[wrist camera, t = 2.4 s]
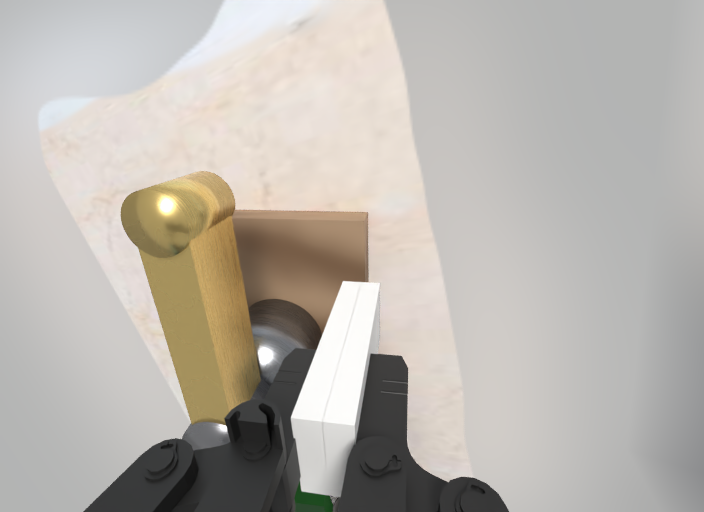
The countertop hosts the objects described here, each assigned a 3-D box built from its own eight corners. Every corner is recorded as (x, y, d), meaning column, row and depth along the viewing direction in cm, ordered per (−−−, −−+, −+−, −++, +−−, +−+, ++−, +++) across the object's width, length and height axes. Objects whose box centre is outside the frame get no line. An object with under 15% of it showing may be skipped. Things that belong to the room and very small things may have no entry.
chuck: (329, 422, 31) (311, 489, 26) (256, 413, 32) (225, 476, 27) (319, 301, 26) (295, 353, 21) (234, 296, 27) (189, 344, 22)
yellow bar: (280, 420, 23) (255, 480, 19) (224, 414, 23) (191, 470, 20) (241, 171, 16) (192, 190, 13) (165, 171, 17) (98, 189, 13)
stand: (369, 413, 33) (367, 432, 31) (233, 398, 35) (223, 415, 33) (367, 212, 25) (364, 221, 23) (190, 209, 27) (174, 216, 25)
